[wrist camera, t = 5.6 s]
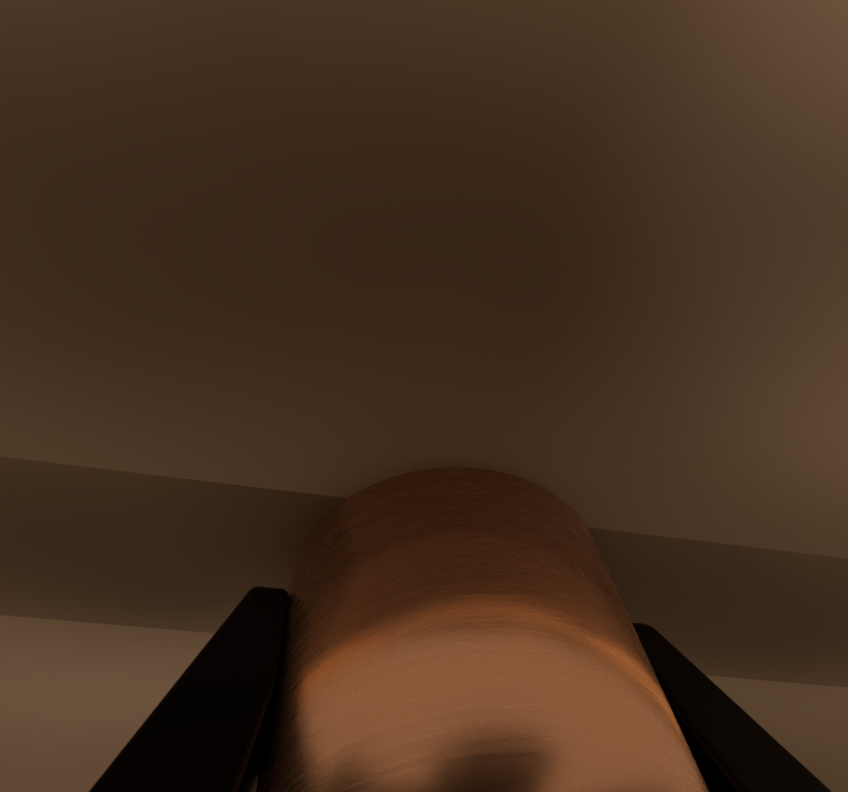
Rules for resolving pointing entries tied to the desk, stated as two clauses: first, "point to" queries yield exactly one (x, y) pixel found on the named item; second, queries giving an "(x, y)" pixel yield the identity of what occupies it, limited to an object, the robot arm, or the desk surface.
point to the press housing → (417, 322)
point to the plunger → (463, 651)
